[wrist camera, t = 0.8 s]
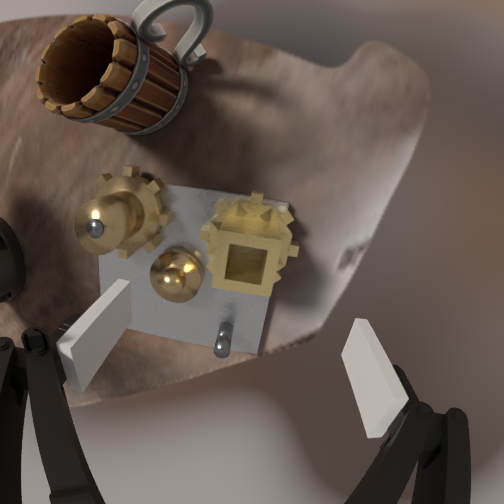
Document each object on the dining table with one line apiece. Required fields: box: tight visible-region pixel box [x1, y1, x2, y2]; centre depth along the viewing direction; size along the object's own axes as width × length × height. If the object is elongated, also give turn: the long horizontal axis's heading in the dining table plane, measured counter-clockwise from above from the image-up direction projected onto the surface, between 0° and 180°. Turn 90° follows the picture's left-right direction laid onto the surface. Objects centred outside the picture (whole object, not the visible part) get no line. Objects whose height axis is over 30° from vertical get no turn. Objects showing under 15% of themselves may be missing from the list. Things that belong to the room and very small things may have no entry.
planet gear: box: [199, 191, 299, 297], centre depth 28 cm, size 10×10×8 cm
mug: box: [35, 0, 213, 135], centre depth 20 cm, size 16×11×15 cm
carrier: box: [75, 165, 289, 358], centre depth 30 cm, size 23×22×10 cm
